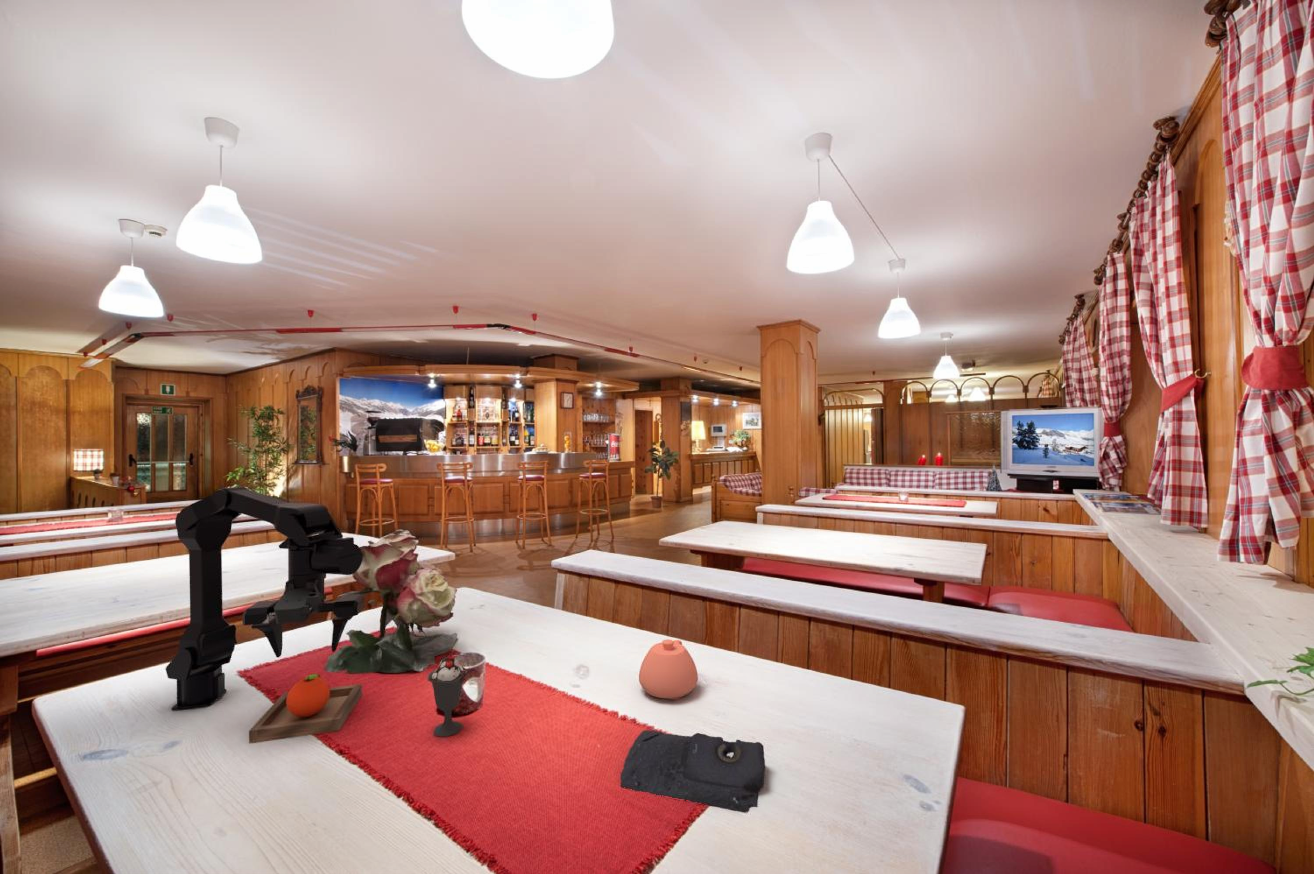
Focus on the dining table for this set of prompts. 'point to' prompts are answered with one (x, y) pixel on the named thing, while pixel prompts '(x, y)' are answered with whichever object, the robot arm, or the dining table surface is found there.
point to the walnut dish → (326, 720)
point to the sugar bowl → (668, 670)
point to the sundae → (447, 693)
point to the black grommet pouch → (696, 769)
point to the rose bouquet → (398, 610)
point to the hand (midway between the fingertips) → (306, 653)
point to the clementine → (308, 696)
